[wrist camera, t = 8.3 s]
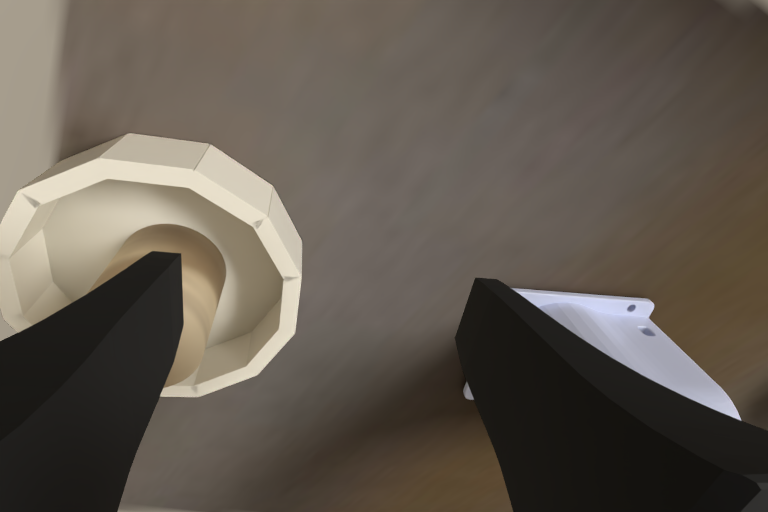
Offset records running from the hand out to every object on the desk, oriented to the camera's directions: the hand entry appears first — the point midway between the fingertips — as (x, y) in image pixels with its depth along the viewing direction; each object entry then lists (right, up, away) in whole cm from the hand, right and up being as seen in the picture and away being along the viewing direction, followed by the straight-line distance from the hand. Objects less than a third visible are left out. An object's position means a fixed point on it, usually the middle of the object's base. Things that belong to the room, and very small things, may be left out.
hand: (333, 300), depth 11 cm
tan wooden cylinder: (-8, 0, +9) cm, 12 cm away
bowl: (-8, +1, +9) cm, 12 cm away
